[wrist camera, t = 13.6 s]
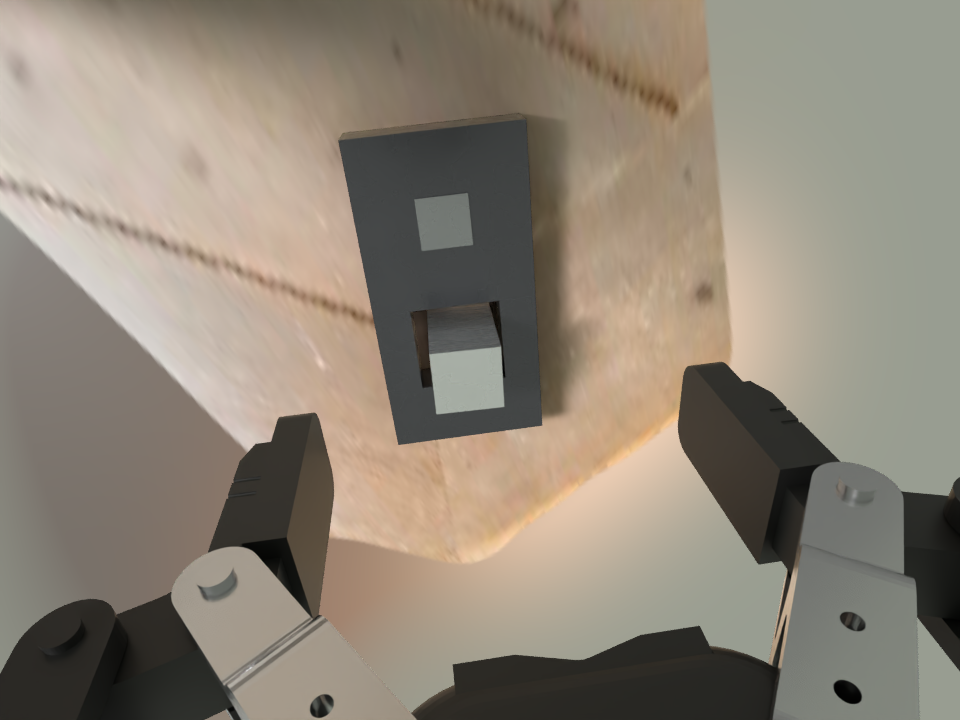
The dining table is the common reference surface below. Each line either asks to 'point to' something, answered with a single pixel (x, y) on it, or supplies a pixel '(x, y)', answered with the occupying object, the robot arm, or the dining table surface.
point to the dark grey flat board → (447, 257)
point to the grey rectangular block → (465, 358)
